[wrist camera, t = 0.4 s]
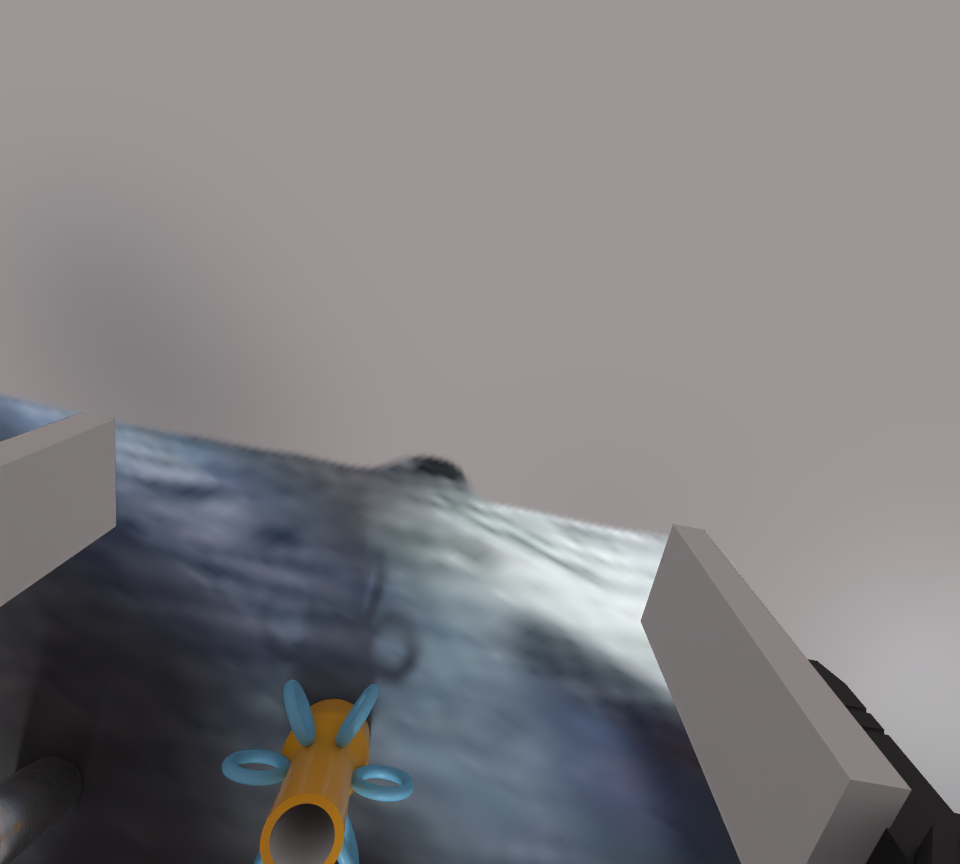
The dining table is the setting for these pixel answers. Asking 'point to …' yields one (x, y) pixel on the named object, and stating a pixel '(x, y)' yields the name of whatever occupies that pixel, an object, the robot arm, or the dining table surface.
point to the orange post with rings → (317, 779)
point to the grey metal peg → (36, 802)
